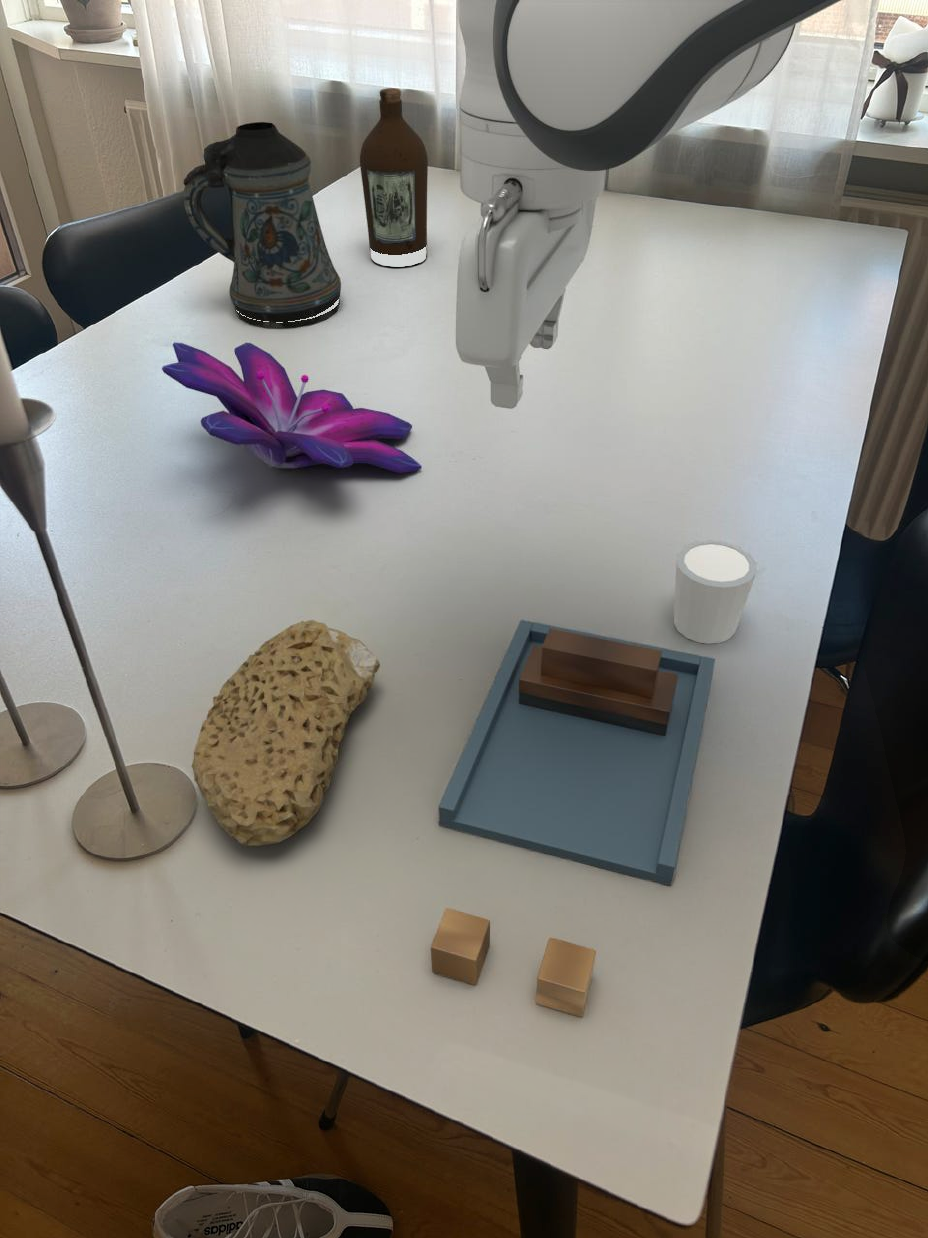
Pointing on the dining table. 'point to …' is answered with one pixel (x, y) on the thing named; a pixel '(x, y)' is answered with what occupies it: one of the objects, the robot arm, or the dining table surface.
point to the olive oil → (394, 181)
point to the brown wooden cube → (460, 946)
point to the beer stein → (267, 228)
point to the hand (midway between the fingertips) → (525, 372)
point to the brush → (599, 681)
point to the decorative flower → (288, 414)
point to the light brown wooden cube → (565, 976)
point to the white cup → (711, 589)
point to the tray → (580, 772)
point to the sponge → (280, 731)
